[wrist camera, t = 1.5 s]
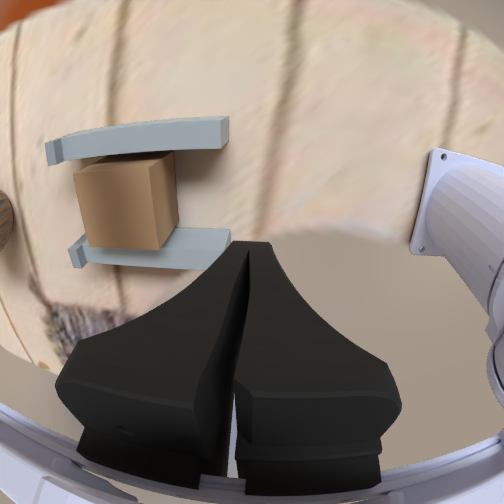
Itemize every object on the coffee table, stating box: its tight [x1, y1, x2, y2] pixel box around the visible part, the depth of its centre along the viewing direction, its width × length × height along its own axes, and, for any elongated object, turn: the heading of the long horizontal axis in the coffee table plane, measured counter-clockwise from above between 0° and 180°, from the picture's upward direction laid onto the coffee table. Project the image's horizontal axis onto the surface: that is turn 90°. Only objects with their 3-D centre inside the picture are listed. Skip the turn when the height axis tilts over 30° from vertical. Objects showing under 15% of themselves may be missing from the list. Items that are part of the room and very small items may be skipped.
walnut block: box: [73, 152, 179, 250], centre depth 17 cm, size 5×5×4 cm
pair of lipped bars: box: [45, 116, 230, 270], centre depth 17 cm, size 11×9×4 cm
